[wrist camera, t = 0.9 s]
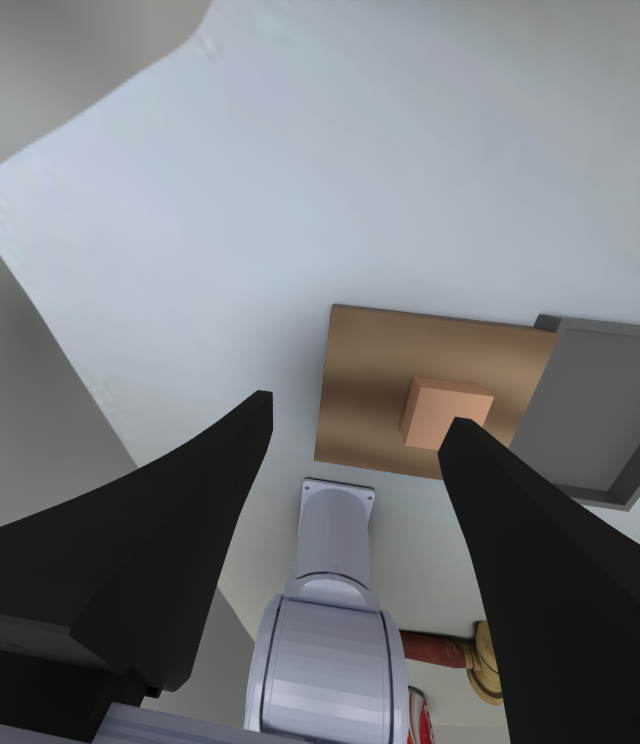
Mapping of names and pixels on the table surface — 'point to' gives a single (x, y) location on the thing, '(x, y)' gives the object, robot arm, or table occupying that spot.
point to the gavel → (461, 659)
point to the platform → (424, 360)
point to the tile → (440, 410)
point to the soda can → (419, 720)
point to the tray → (586, 413)
